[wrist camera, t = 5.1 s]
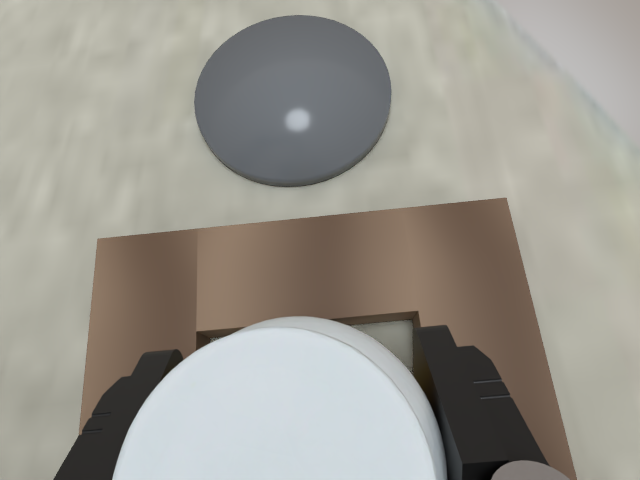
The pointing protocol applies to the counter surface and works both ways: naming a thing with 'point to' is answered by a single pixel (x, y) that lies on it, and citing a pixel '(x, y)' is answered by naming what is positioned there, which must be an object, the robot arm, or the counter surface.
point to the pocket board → (328, 292)
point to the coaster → (293, 100)
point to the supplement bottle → (286, 411)
